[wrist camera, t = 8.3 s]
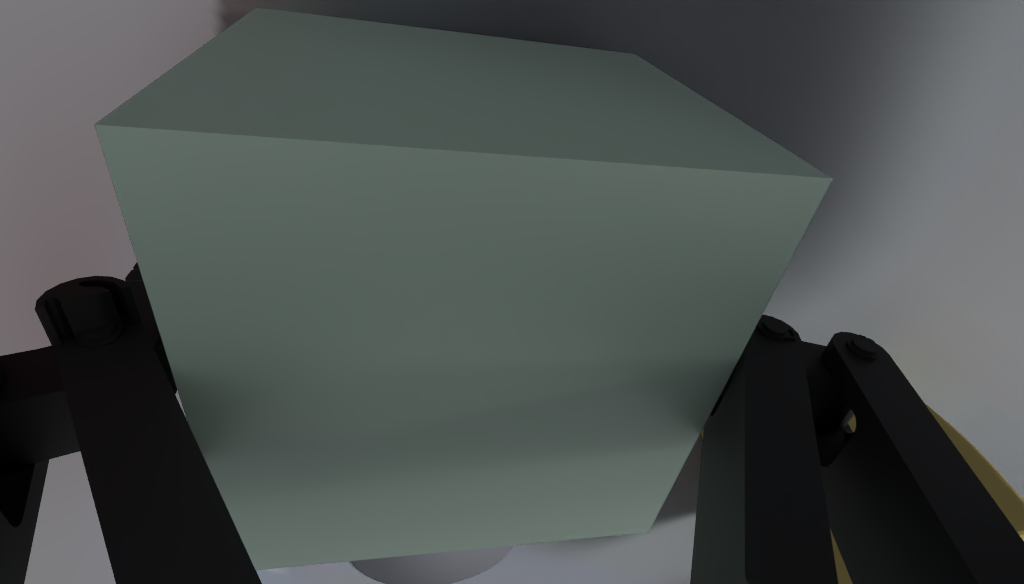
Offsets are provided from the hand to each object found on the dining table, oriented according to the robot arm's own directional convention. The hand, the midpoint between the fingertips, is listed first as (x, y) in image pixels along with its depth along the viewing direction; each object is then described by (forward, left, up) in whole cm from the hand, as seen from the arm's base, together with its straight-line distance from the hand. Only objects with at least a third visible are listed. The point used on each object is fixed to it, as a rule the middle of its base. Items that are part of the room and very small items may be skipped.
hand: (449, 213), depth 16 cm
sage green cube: (0, 0, -1) cm, 1 cm away
